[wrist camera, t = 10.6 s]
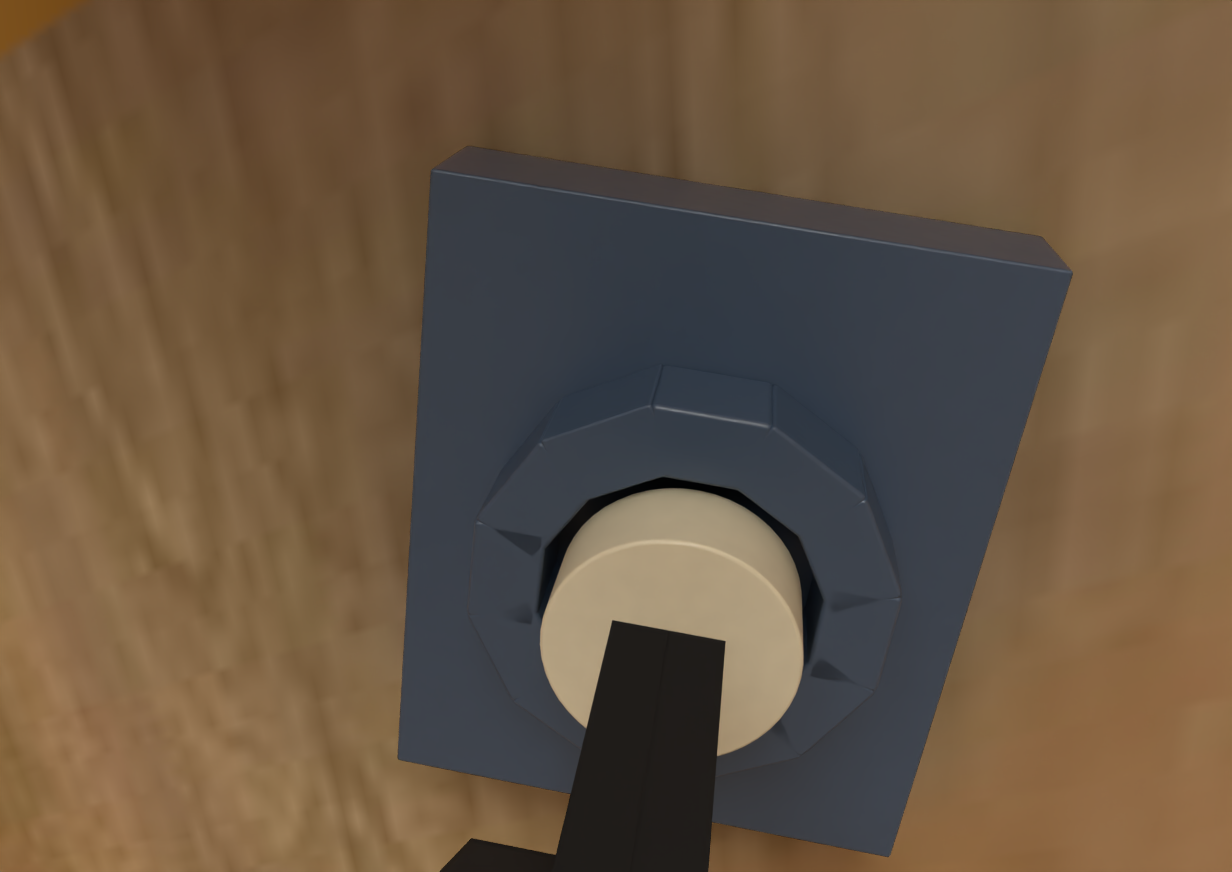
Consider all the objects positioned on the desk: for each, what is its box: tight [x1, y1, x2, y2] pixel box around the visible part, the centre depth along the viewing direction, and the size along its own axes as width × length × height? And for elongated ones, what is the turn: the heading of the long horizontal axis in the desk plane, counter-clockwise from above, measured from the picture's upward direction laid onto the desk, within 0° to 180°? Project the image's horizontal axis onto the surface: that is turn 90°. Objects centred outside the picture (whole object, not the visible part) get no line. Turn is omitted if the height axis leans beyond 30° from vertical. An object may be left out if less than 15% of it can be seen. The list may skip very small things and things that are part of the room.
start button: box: [540, 488, 803, 756], centre depth 17 cm, size 4×4×2 cm
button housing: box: [398, 146, 1073, 857], centre depth 20 cm, size 12×10×4 cm
